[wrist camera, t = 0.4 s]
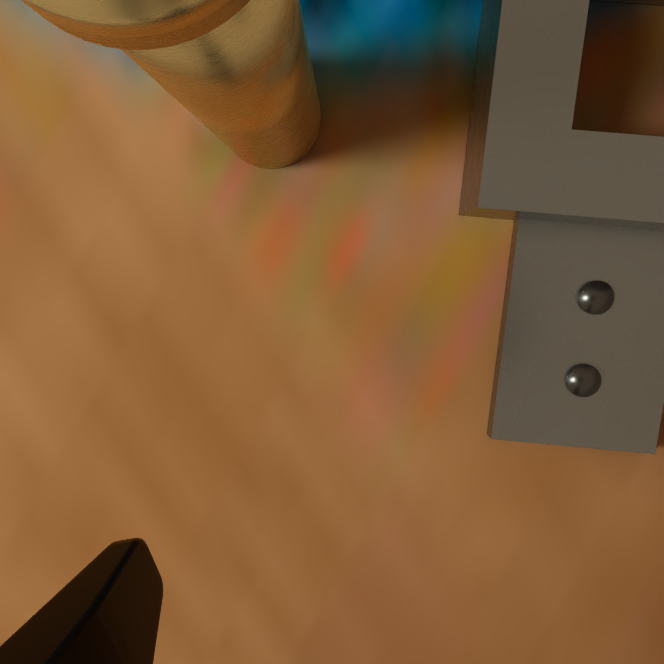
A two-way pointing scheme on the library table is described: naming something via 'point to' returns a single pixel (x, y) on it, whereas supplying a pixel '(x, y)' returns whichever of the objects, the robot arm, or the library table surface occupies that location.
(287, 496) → the library table surface
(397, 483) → the library table surface
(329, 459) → the library table surface
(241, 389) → the library table surface
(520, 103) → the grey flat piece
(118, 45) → the pin
